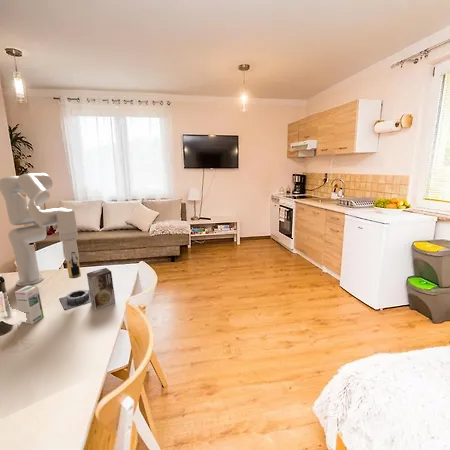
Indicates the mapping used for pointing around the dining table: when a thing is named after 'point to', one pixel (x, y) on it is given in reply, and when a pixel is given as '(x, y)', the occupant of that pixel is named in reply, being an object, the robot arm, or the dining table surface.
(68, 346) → the dining table surface
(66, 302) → the ring fixture
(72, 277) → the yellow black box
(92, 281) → the coffee box
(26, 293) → the syrup box
